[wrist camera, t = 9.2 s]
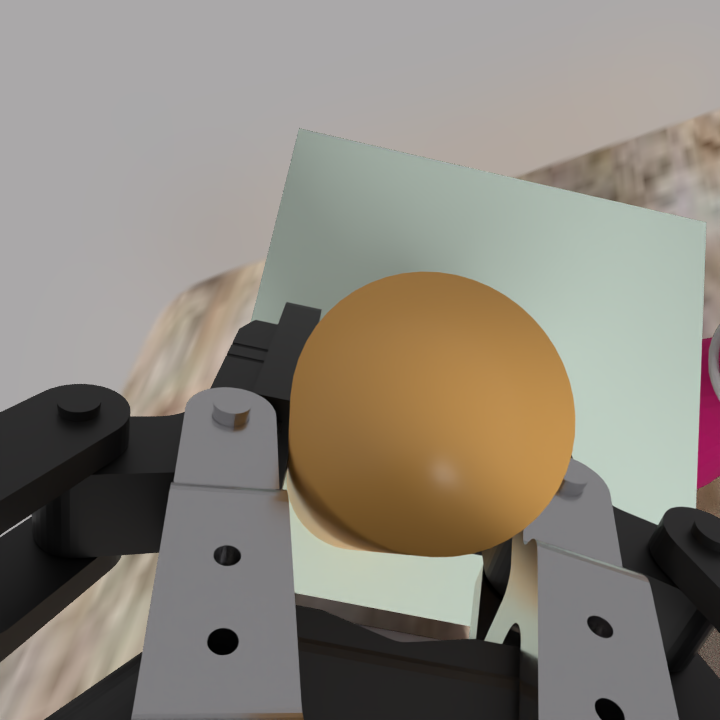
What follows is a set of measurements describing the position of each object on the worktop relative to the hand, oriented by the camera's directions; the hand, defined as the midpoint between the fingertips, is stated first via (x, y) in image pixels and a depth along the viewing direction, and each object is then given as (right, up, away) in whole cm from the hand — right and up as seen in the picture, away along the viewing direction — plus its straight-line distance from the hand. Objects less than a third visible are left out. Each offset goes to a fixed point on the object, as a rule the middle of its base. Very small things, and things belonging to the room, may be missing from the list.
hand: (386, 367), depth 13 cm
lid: (+2, -1, +4) cm, 5 cm away
